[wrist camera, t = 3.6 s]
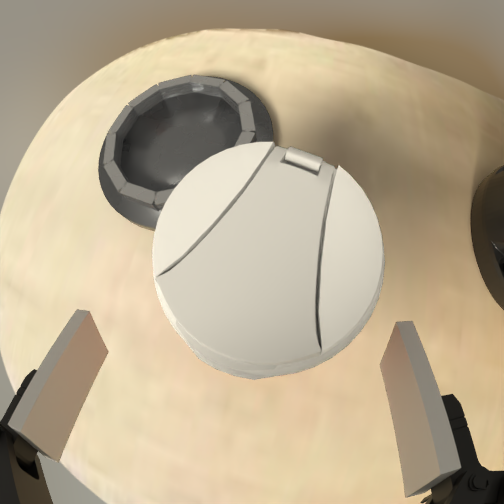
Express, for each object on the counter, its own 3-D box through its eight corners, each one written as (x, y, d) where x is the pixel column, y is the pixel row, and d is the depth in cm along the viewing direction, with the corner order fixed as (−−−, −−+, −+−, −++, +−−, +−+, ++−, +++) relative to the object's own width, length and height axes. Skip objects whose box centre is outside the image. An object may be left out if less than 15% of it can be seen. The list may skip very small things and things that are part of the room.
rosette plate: (297, 103, 26) (299, 84, 23) (227, 262, 23) (220, 253, 20) (156, 76, 28) (149, 59, 26) (77, 200, 25) (62, 189, 23)
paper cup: (246, 227, 23) (207, 105, 10) (340, 265, 22) (421, 181, 8) (202, 322, 22) (97, 313, 8) (299, 364, 21) (336, 427, 7)
